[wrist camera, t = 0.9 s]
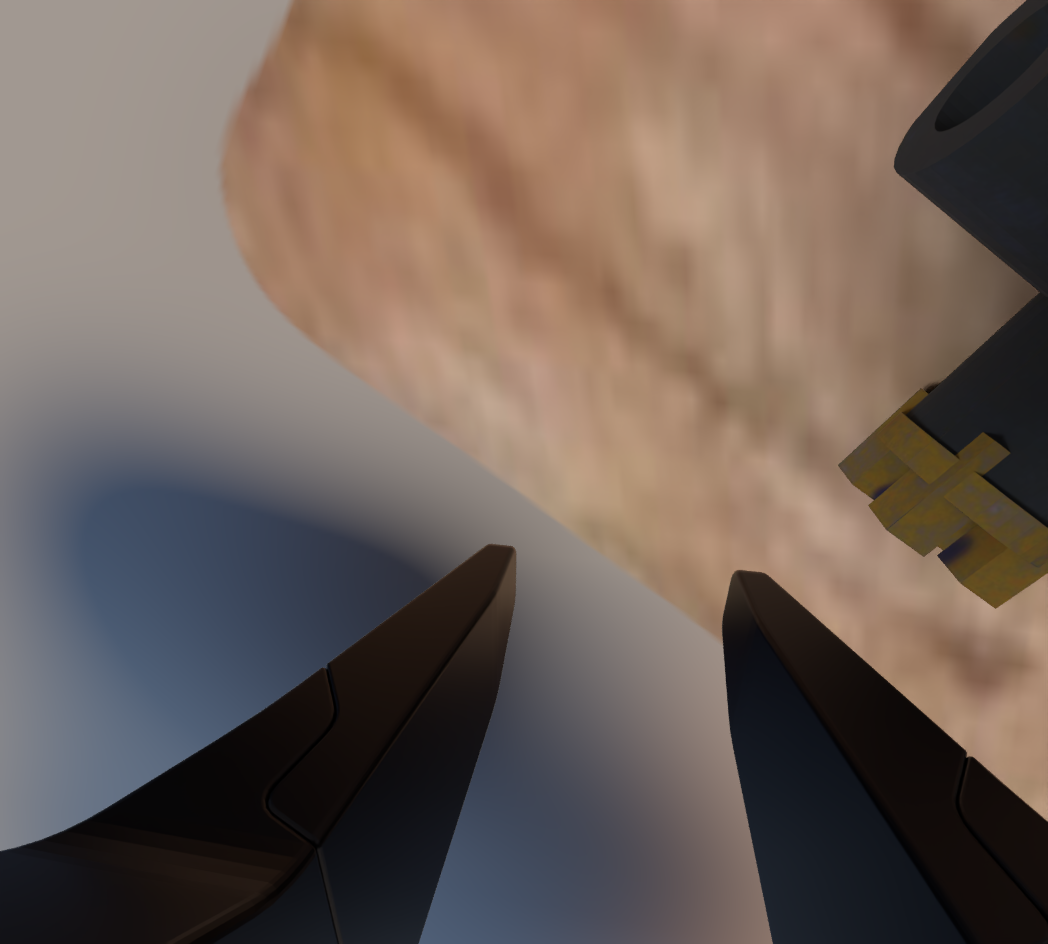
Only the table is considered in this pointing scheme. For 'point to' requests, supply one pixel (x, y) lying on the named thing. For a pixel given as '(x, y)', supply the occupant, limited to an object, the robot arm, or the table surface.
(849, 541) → the table surface
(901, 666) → the table surface
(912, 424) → the pipe connector
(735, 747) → the robot arm
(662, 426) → the table surface
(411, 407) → the table surface
